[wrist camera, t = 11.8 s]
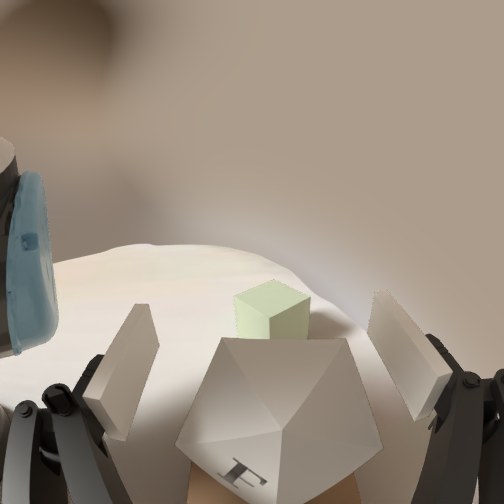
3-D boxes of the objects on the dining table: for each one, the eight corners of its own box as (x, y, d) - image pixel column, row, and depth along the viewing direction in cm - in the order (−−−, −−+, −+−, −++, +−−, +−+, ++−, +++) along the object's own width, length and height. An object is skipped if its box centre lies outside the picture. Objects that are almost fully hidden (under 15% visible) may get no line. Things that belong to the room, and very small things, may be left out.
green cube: (237, 338, 34) (233, 295, 32) (274, 319, 37) (273, 279, 35) (270, 362, 29) (269, 318, 27) (307, 339, 33) (310, 296, 30)
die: (186, 425, 16) (101, 431, 7) (271, 329, 19) (263, 253, 10) (287, 500, 12) (294, 576, 4) (371, 397, 16) (454, 377, 7)
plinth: (343, 549, 9) (369, 536, 7) (204, 559, 9) (181, 549, 7) (316, 419, 21) (324, 375, 19) (213, 426, 21) (202, 382, 19)
